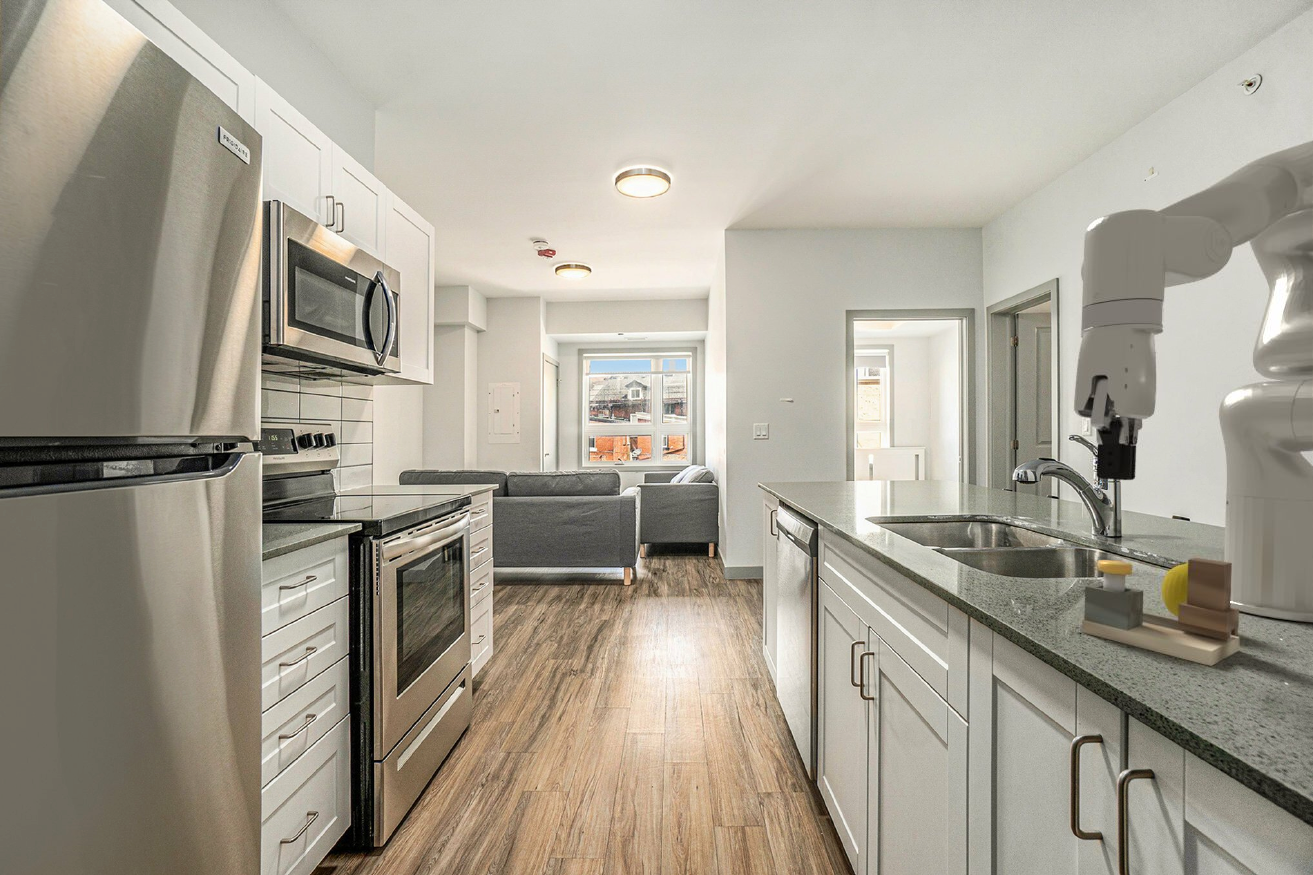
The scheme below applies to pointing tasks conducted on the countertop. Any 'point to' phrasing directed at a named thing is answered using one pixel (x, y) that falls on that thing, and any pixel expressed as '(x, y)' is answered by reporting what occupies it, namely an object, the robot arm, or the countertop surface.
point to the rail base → (1148, 627)
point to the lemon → (1175, 588)
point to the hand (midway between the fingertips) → (1115, 478)
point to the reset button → (1114, 574)
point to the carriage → (1209, 600)
